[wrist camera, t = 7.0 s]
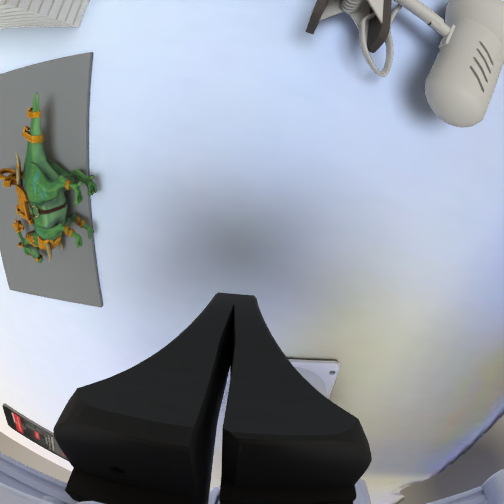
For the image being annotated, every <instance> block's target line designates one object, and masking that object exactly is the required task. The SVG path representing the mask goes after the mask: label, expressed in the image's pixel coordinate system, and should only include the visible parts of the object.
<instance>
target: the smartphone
mask: <svg viewBox="0 0 504 504" xmlns="http://www.w3.org/2000/svg"><path fill="white" fill-rule="evenodd" d="M3 410H4V413H5V416H6V420H7V423H8V425H9V426H10V427H11V428H12V429H14V430H15V431H17V432H18V433H20V434H22V435H23V436H25V437H26V438H28V439H30V440H31V441H33V442H35V443H36V444H38V445H40V446H42V447H43V448H45V449H47V450H49V451H50V452H52V453H54V454H56V455H58V456H60V457H62V458H64V459H66V460H67V461H69V460H68V459H67V457H66V456H65V454H64V453H63V452H62V450H61V448H60V447H59V445H58V443H57V441H56V439H55V437H54V433H52V432H50V431H49V430H47V429H45V428H43V427H42V426H40V425H38V424H37V423H35V422H33V421H32V420H30V419H28V418H27V417H25V416H23V415H22V414H20V413H19V412H17V411H16V410H14V409H13V408H11V407H10V406H8V405H7V404H3Z"/></svg>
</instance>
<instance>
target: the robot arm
mask: <svg viewBox="0 0 504 504" xmlns="http://www.w3.org/2000/svg"><path fill="white" fill-rule="evenodd" d="M230 364H231V380H230V387H229V393H228V400H227V406H226V412H225V418H224V424H223V439H222V477H221V486H220V487H215V488H213V489H212V490H211V491H210V481H211V472H212V463H213V454H214V445H215V436H216V428H217V421H218V416H219V411H220V407H221V403H222V398H223V394H224V390H225V386H226V381H227V377H228V373H229V368H230ZM339 368H340V365H339V363H338V362H337V361H322V360H295V359H287V357H286V356H285V355H284V353H283V352H282V350H281V349H280V348H279V346H278V344H277V343H276V341H275V340H274V338H273V336H272V335H271V333H270V331H269V329H268V327H267V325H266V323H265V321H264V319H263V317H262V314H261V312H260V309H259V307H258V303H257V299H256V298H255V296H252V295H240V294H229V293H217V294H216V295H215V296H214V297H213V299H212V300H211V302H210V303H209V304H208V305H207V307H206V308H205V309H204V310H203V311H202V313H201V314H200V315H199V316H198V317H197V318H196V319H195V320H194V321H193V322H192V323H191V324H190V325H189V326H188V327H187V328H186V329H185V330H184V331H183V332H182V333H181V334H180V335H179V336H178V337H176V338H175V339H174V340H173V341H172V342H170V343H169V344H168V345H167V346H165V347H164V348H163V349H161V350H160V351H158V352H157V353H156V354H154V355H152V356H151V357H149V358H148V359H146V360H144V361H143V362H141V363H139V364H138V365H136V366H134V367H132V368H130V369H128V370H126V371H124V372H121V373H119V374H117V375H114V376H112V377H110V378H107V379H104V380H102V381H99V382H96V383H93V384H90V385H87V386H83V387H80V388H77V390H76V391H75V393H74V394H73V395H72V397H71V398H70V399H69V401H68V403H67V404H66V406H65V408H64V410H63V412H62V414H61V415H60V417H59V419H58V421H57V423H56V425H55V427H54V437H55V439H56V441H57V443H58V445H59V447H60V448H61V450H62V452H63V453H64V454H65V456H66V457H67V459H68V460H69V462H70V463H71V465H72V466H73V467H74V469H73V471H72V474H71V476H70V479H69V481H68V483H65V482H63V481H60V480H58V479H55V478H53V477H50V476H48V475H46V474H43V473H41V472H39V471H37V470H35V469H32V468H30V467H28V466H26V465H24V464H22V463H20V462H18V461H16V460H14V459H12V458H10V457H8V456H7V455H5V454H3V453H1V452H0V504H371V501H370V497H369V493H368V489H367V486H366V484H365V482H364V480H362V479H361V478H360V477H361V476H362V475H363V474H364V472H365V471H366V470H367V468H368V467H369V465H370V463H371V452H370V447H369V444H368V440H367V438H366V436H365V433H364V431H363V428H362V426H361V424H360V422H359V419H358V418H356V417H354V416H353V415H351V414H350V413H348V412H347V411H345V410H343V409H342V408H340V407H339V406H337V405H336V404H334V403H333V402H331V401H330V400H329V397H330V394H331V391H332V389H333V386H334V383H335V380H336V377H337V374H338V371H339ZM330 371H332V372H330ZM209 491H210V493H209ZM427 504H504V469H502V470H500V471H498V472H497V473H495V474H494V475H492V476H491V477H490V478H489V479H488V480H486V482H485V483H484V484H483V485H482V486H480V487H477V488H474V489H472V490H469V491H466V492H463V493H460V494H457V495H454V496H451V497H448V498H444V499H441V500H438V501H435V502H431V503H427Z"/></svg>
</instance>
